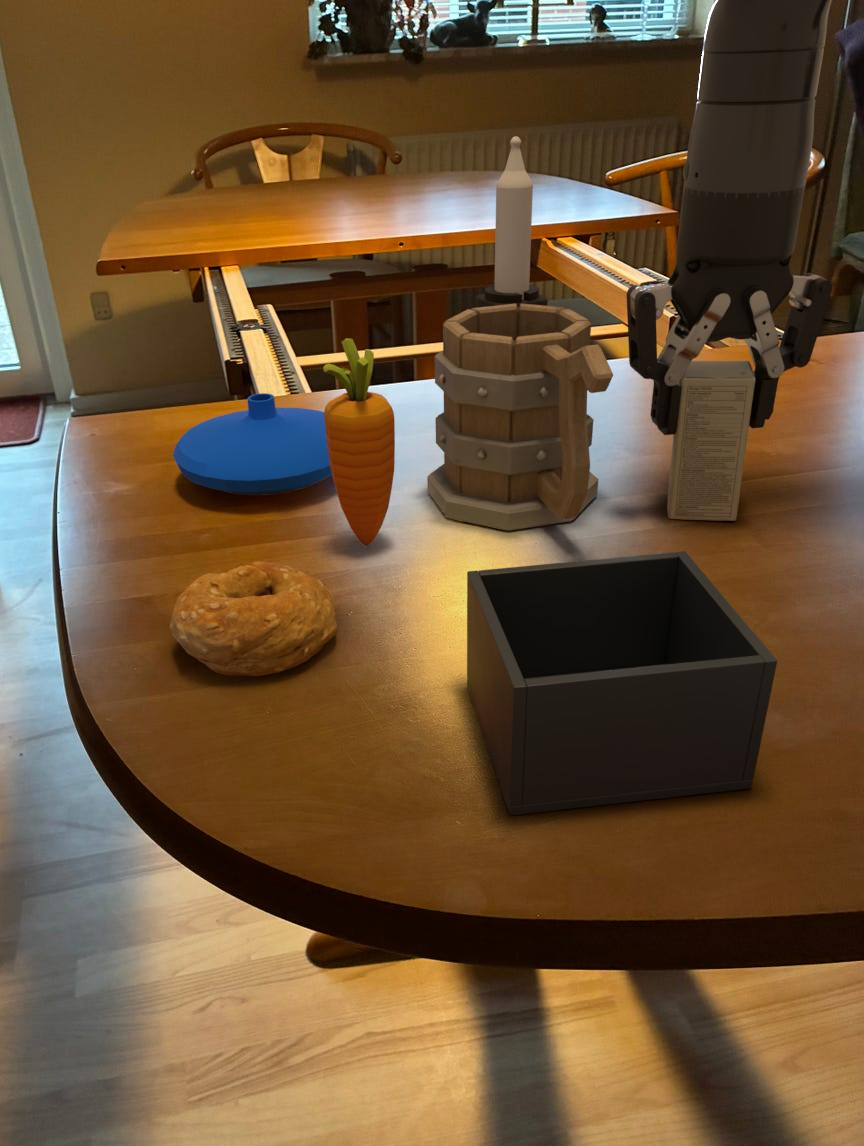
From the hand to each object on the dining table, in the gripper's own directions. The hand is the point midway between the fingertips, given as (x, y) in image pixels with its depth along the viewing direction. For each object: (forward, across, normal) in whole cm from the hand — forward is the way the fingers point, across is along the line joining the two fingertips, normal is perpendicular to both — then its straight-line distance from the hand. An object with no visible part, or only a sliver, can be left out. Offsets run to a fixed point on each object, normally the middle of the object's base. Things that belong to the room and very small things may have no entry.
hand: (709, 427), depth 72 cm
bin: (+7, -16, -26) cm, 31 cm away
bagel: (+7, -34, -13) cm, 37 cm away
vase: (+7, -33, +14) cm, 37 cm away
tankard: (+7, -13, +2) cm, 15 cm away
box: (+7, 0, 0) cm, 7 cm away
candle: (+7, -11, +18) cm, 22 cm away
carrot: (+7, -26, -1) cm, 27 cm away
